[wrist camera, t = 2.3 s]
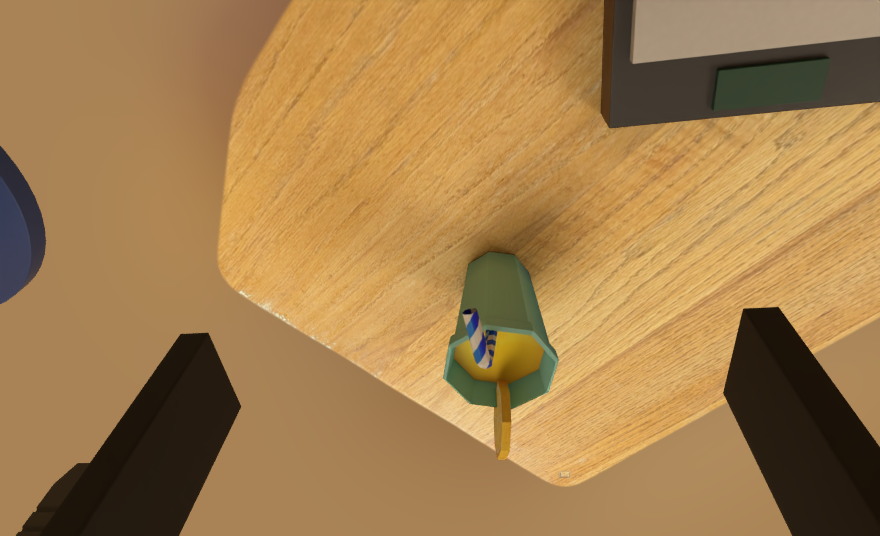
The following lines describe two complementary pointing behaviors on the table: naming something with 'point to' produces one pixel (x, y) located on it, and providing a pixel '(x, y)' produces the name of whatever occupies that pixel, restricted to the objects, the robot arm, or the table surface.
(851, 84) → the scale
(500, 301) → the cup
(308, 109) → the table surface
